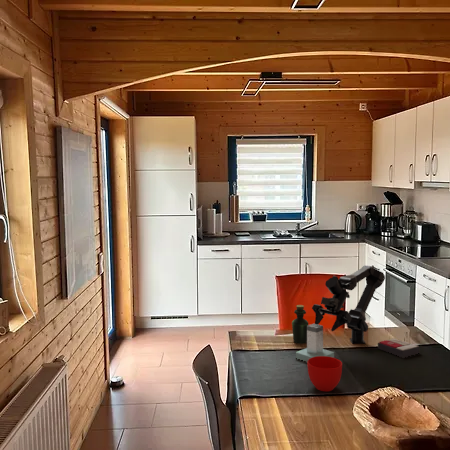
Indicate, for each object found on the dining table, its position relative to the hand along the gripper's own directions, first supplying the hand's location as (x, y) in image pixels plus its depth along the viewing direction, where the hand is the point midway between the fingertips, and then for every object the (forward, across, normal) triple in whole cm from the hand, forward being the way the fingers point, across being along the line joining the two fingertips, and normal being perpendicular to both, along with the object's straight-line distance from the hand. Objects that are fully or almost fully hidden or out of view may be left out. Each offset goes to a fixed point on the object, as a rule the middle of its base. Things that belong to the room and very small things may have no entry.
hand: (323, 328), depth 212 cm
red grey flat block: (-11, +20, +30) cm, 38 cm away
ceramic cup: (+27, +20, -9) cm, 35 cm away
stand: (+13, 0, +4) cm, 14 cm away
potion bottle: (+4, -19, +14) cm, 24 cm away
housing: (+11, 0, +2) cm, 11 cm away
